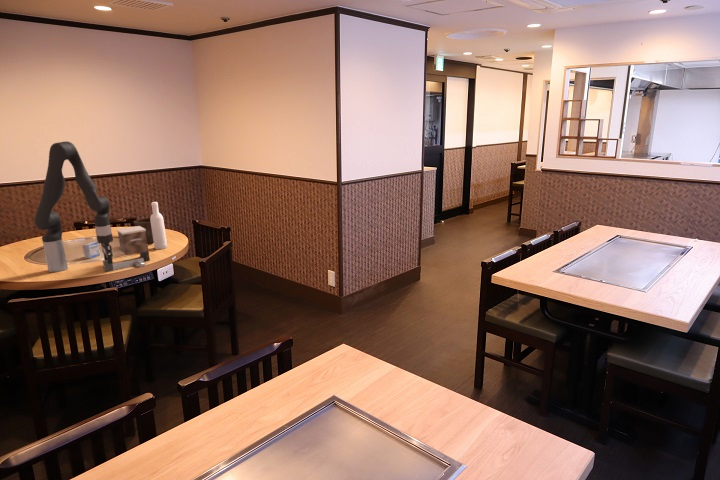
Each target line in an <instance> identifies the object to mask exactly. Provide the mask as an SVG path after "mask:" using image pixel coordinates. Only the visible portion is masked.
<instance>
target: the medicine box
mask: <svg viewBox="0 0 720 480" xmlns="http://www.w3.org/2000/svg"><path fill="white" fill-rule="evenodd" d="M82 250H83V254H84V259H93V258H96V257H99V256H101V252H100V247H99V243H98V242H97V241H91V242H87V243H86V244H83V245H82Z"/></svg>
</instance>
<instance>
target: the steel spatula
mask: <svg viewBox="0 0 720 480" xmlns="http://www.w3.org/2000/svg"><path fill="white" fill-rule="evenodd" d="M137 262H145V260H144V258H141V257H140V258H134V259H130V260H124V261H118V262H113V263H112V264H108V260H105V259H103V260H102V265H103V269H104V273H108V272H113V271H115V270H121V269H127V268H131V267H135V263H137Z"/></svg>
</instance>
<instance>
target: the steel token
mask: <svg viewBox="0 0 720 480" xmlns="http://www.w3.org/2000/svg"><path fill="white" fill-rule="evenodd" d="M145 262H146V261H144V262H137V263H135V266H134V267H135V268H143V267H145V266H146V263H145Z"/></svg>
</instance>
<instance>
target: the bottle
mask: <svg viewBox="0 0 720 480" xmlns="http://www.w3.org/2000/svg"><path fill="white" fill-rule="evenodd" d="M151 210H152V213H151V214H150V217H149V218H150V221H151V228H152V234H153V241H154V244H153V247H154V249H155V250H165V249H166V248H168V241H167V236H166V228H165V221H164V216H163V215H162V213H160V212H159V211H160V210H159V203H158V202H157V201H152V202H151Z"/></svg>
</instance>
